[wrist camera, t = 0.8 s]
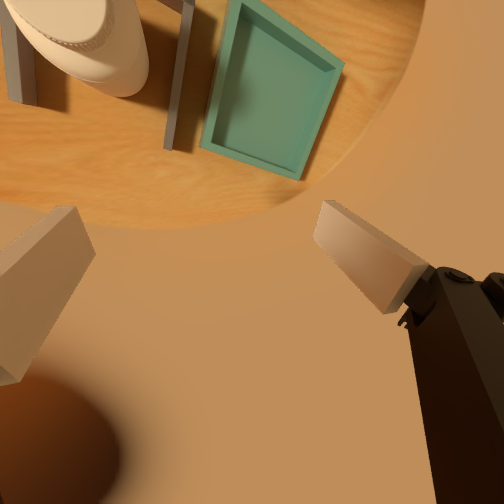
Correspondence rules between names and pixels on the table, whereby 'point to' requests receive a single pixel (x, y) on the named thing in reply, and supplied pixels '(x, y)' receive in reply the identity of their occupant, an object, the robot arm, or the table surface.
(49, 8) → the pill bottle
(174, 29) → the table surface
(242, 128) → the tray
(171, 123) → the dock
